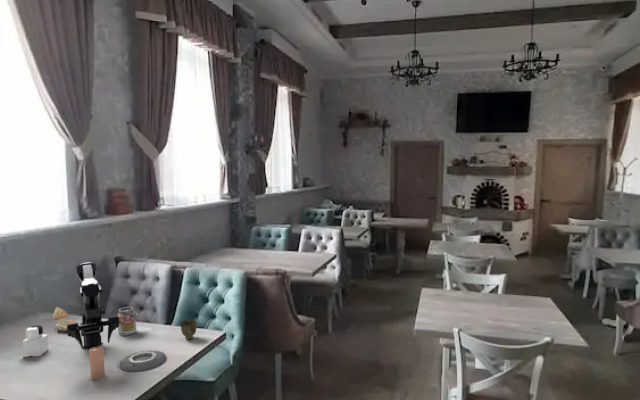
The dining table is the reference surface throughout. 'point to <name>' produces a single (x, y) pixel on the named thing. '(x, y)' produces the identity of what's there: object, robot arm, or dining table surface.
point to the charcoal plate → (134, 368)
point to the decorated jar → (127, 321)
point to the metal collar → (132, 362)
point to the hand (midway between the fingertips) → (95, 345)
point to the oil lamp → (61, 319)
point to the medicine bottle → (35, 342)
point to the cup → (188, 328)
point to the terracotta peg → (97, 362)
